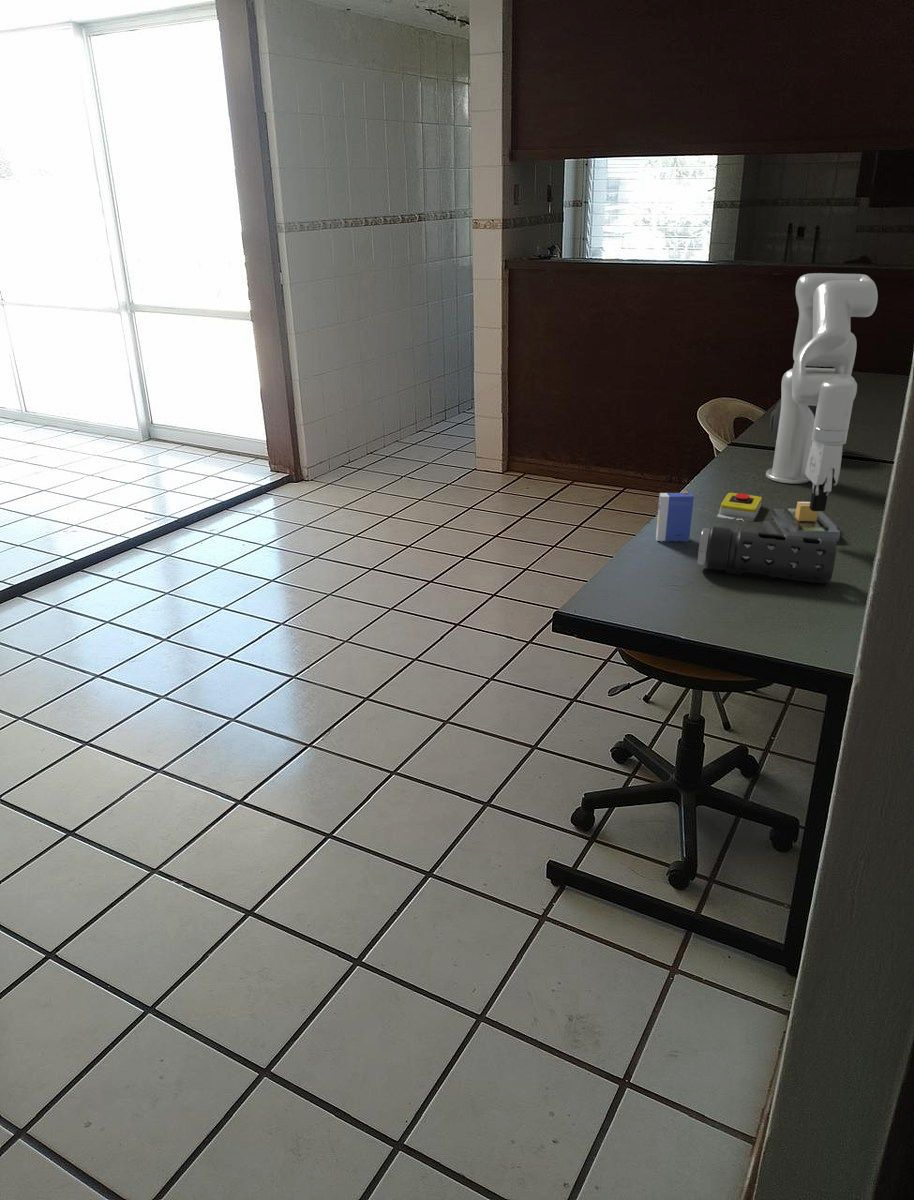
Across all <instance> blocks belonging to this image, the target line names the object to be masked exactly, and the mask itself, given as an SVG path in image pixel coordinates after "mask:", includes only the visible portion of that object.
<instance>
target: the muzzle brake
mask: <svg viewBox="0 0 914 1200" xmlns="http://www.w3.org/2000/svg"><path fill="white" fill-rule="evenodd" d="M698 545H699V546H698V554H697V564H698V565H701V566H704V567H705V568H706V569H711V570H719V571H725V574H735V575H740V576H741V575H742V574H743V573H751V574H759V575H766V576H767V575H768V577H769V578H781V579H782V580H788V581H789V580H791V581H799V582H806V583H814V584H824V585H826V584H828V582H831V580H832V578H833V573H834V569H835V562H836V555H837V554H836V553H837V542H836V541H835V540H827V539H817V538H808V537H798V536H789V535H783V534H779V533H778V534H770V533H767V532H761V531H759V532H758V531H749V530H738V531H733V529H732V528H730V527H725V526H716V525H715V526H714V525H713V526H710V527H709V528H707V527H706V528H702V529H701V533H700V539H699V544H698ZM768 546H769V547H773V548H772V549H770V548H769V547H768ZM795 549H797V550H796V551H793V550H795ZM818 552H821V553H820V554H819V553H818ZM768 561H770V562H768ZM792 564H793V565H792ZM817 566H819V567H817Z"/></svg>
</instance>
